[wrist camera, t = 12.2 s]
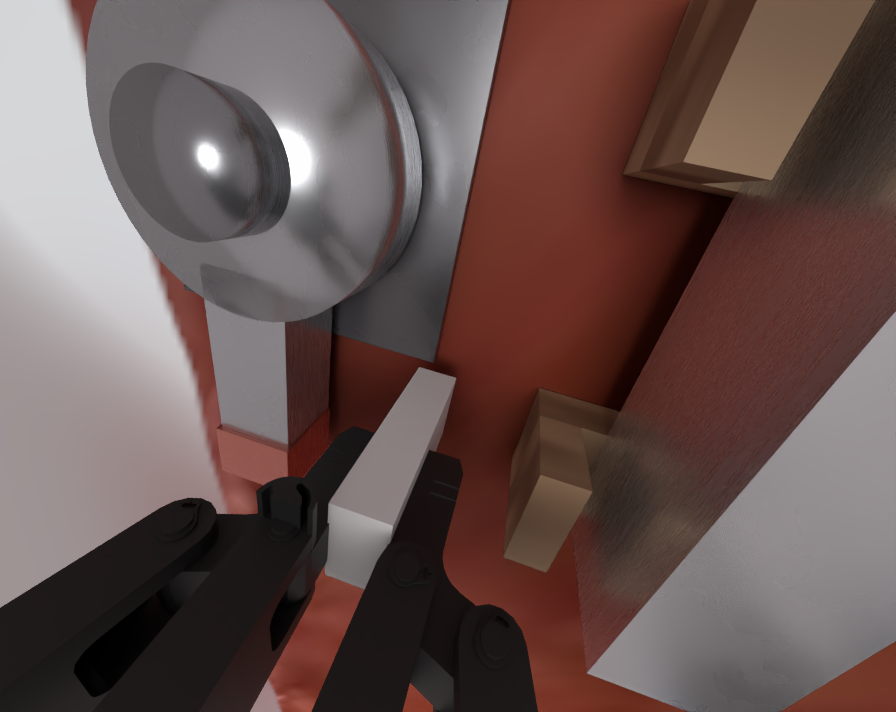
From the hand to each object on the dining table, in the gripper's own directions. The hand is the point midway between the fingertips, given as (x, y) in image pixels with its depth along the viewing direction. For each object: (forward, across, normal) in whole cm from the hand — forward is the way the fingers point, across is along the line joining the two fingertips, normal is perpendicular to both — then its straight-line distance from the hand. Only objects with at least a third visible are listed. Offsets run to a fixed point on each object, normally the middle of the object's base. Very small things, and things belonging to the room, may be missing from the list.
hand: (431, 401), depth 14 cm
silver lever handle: (+1, +7, -3) cm, 7 cm away
